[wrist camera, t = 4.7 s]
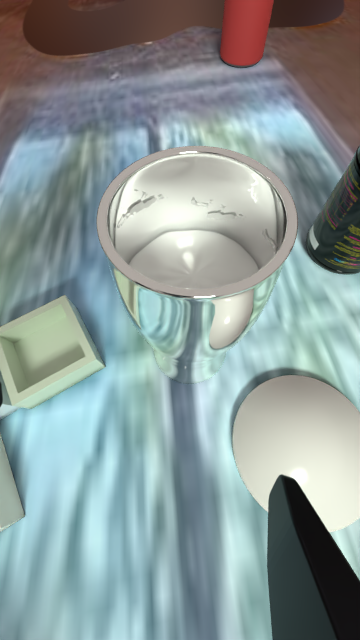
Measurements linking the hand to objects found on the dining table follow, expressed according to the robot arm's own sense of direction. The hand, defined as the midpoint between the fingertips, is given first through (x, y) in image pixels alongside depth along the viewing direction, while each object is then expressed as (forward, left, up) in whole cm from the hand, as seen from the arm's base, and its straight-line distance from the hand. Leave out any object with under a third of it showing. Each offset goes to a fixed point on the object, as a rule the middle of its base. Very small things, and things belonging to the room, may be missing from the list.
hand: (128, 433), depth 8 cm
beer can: (+37, +41, -13) cm, 57 cm away
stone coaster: (+8, -6, -13) cm, 16 cm away
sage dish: (-5, +10, -13) cm, 17 cm away
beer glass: (+5, +5, -13) cm, 15 cm away
